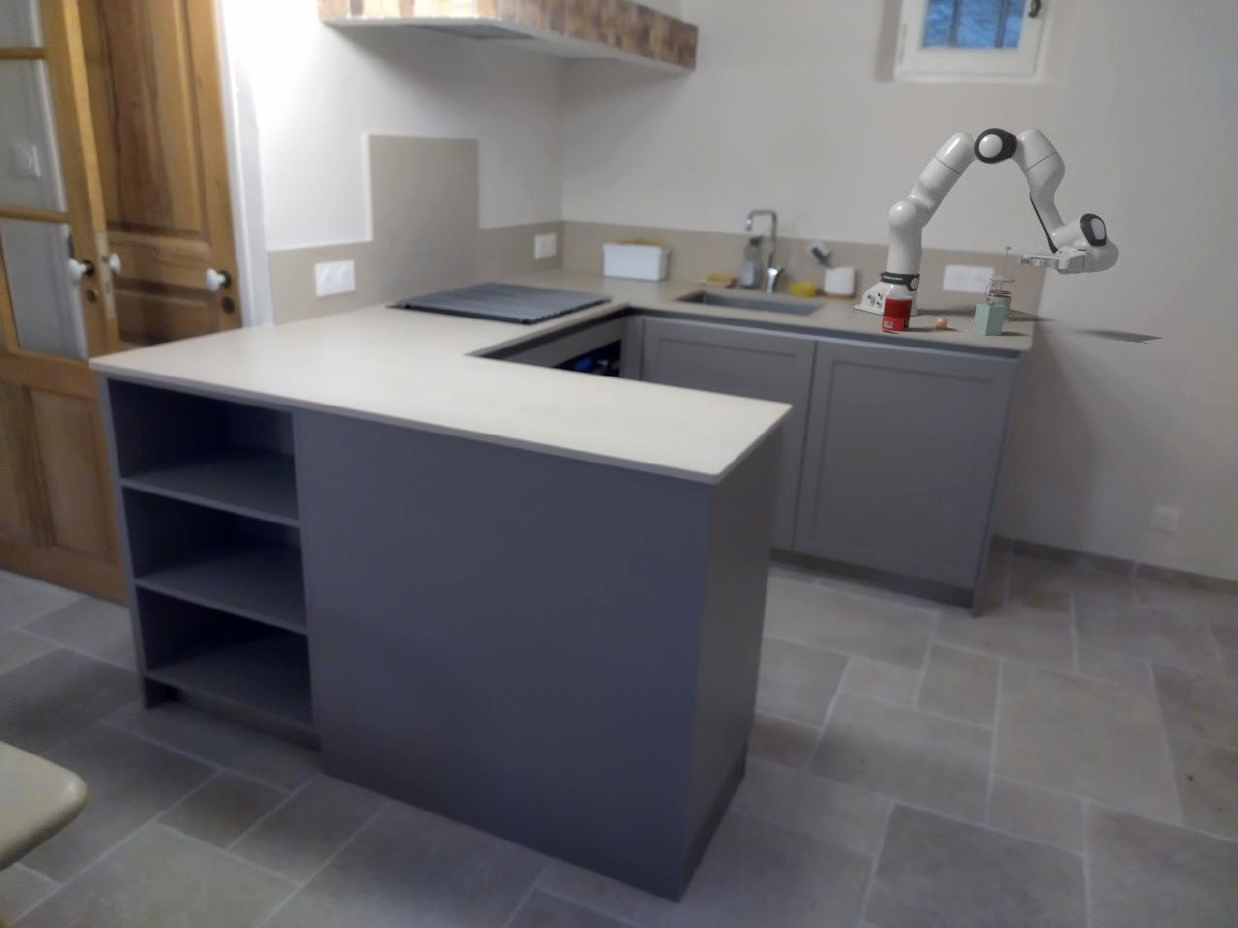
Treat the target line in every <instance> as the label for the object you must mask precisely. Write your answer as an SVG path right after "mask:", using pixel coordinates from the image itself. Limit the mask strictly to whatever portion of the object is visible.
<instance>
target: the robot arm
mask: <svg viewBox="0 0 1238 928" xmlns="http://www.w3.org/2000/svg"><path fill="white" fill-rule="evenodd" d="M978 160H979V162H982V163H984V164H988V165H997V164H1000V163H1001V164H1002V163H1003V162H1005V161H1007V160H1012V161H1014V162H1015V163H1016V164H1017V166H1019V167H1018V168H1020V170H1021V172H1022V173H1023V175H1024V177H1025V178H1026V181H1027V182H1028V183H1027V184H1028V187H1029V200H1030V203H1031V205H1032V208H1033V209H1034V212H1035V214H1036V217H1037V218H1038V221H1039V223H1040V225H1041V227H1042V229H1043V231H1044V233H1045V237H1046V239H1047V244H1048V247H1049V248H1048V249H1050V252H1051V253H1049V252H1038V253H1037V252H1033V253H1031V252H1030V253H1025V254H1024V255H1023V258H1021V257H1020V258H1019V260H1018V264H1019V265H1023V266H1027V267H1036V268H1043V269H1044V268H1045V269H1053V270H1056V272H1057V273H1059V274H1060V275H1064V276H1065V275H1075V274H1076V275H1078V274H1082V273H1083V274H1085V273H1086V274H1089V273H1090V274H1092V273H1099V272H1104V271H1107V270H1109V269H1111V268H1113V267H1114V266H1115V265H1116V263H1117V261H1118V259H1119V254H1120V253H1119V247H1118V246H1117V245H1116V244H1114V243H1113V242H1112V241H1111V240H1110V238H1109V236H1108V234H1107V228H1106V224H1105V223H1106V222H1104V220H1103V219H1102V218H1101V217H1100V216H1098V215H1097V214H1094V213H1084V214H1083V215H1081V216H1080V217H1078V218H1076V219H1074V220H1073V221H1071V222H1070V223H1068V224H1064V222H1063V219H1062V217H1061V215H1060V213H1059V211H1058V209H1057V207H1056V204H1055V194H1056V191H1057V190H1058V188H1059V186H1060V184H1061V183H1062V181H1063V179H1064V176H1065V174H1066V173H1065V172H1066V165H1065V162H1064V160H1063V158H1062V156H1061V155H1060V153H1059V152H1058V151H1057V149H1056V147H1055V146H1054V145H1053V144H1052V142H1051V141H1050V140H1049V139H1048V137H1047V136H1046V135H1045V134H1044V133H1043V132H1042V131H1041V130H1040V129H1038V128H1028V129H1025V130H1023V131H1021V132H1020V133H1018V134H1013V133H1012V132H1010V131H1009V130H1007V129H1005V128H1003V127H998V126H997V127H990V128H987V129H985V130H984V131H982V132H981V133H980V134H979V135H978V136H975V135H972V134H971V133H970V132H968V131H967V132H966V131H958V132H957V131H956V132H955V133H954V134H952V136H950V137H949V138H948V139H947V140H946V141H945V142H944V143H943V144H942V146H940V148H939V149H938V150H937V152H935V154H934V156H933V157H932V158H931V160H929V162H928V164H927V165H926V167H925V168H924V169H923V170H922V171H921V172H920V174H919V175H918V177H917V180H916V182H915V184H914V185H913V187H912V189H911V190H910V191H909V194H907V196H906V197H905V198H902V199H900V200H898V201H896V202H895V203H894V204H893V205H892V206H891V208H890V210H889V212H888V214H887V216H888V217H887V218H888V253H887V259H886V268H885V271H884V272H879V273H878V277H881V278H880V280H879V282H877V283H875V284H874V285H873V286H871V287H870V288H868V289H867V290H865V291H864V293H863V295H862V298H861V301H860V303H859V304H855V305H854V306H853V308H854V309H856V310H861V311H863V312H868V313H871V314H875V315H878V316H879V315H880V316H883V315H884V308H885V300H886V296H887V295H905V296H910V297H913V301H912V308H911V315H910V317H913V316H914V317H915V316H918V314H919V313H918V305H917V303H918V302H917V295H918V293H917V292H918V288H919V284H920V276H921V275H920V267H921V260H922V254H923V253H922V252H923V248H922V234H923V228H925V227H926V226H927V224H928V223H929V222H930V220H931V219H932V218H933V216H934V215H935V214H936V212H937V210H938V209H939V207H940V206H941V204H942V203H943V201H944V199H945V197H947V195H948V194H949V192H950V191H951V189H953V187H954V185H955V184H956V183H957V182H958V181H959V179H960V178H961V177H962V175H964V173H965V171H966V170H967V169H968V167H969V166H970V165H971V164H972V163H973V162H975V161H978Z"/></svg>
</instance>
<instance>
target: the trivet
mask: <svg viewBox="0 0 1238 928" xmlns="http://www.w3.org/2000/svg"><path fill="white" fill-rule="evenodd" d="M922 328H923V329H926V330H930V331H933V332H937V333H951V332H953V333H955V332H958V333H961V332H963V331H962V330H958V329H955V328H952V327H948V326H947V328H946V330H939V329H936V325H935V326H934V325H933V326H927V325H926V326H922Z"/></svg>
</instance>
